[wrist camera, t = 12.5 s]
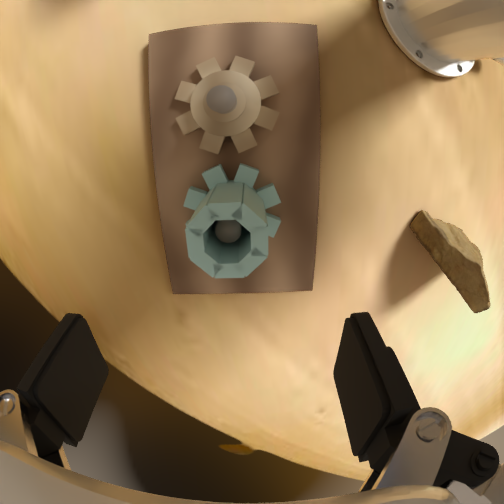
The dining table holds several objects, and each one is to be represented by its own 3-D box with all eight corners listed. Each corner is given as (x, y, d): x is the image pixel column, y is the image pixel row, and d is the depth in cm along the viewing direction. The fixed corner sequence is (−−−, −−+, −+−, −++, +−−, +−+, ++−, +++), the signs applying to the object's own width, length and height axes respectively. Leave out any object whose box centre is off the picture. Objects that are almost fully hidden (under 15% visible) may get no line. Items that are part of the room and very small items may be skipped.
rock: (392, 239, 25) (422, 311, 27) (471, 230, 17) (489, 316, 19) (425, 187, 29) (450, 252, 31) (485, 173, 21) (504, 248, 24)
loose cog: (280, 162, 23) (292, 177, 16) (279, 251, 26) (288, 294, 20) (182, 166, 23) (157, 183, 16) (191, 253, 26) (174, 296, 20)
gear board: (312, 30, 19) (334, 1, 12) (309, 282, 29) (324, 325, 23) (154, 38, 19) (124, 15, 12) (176, 286, 29) (160, 328, 23)
